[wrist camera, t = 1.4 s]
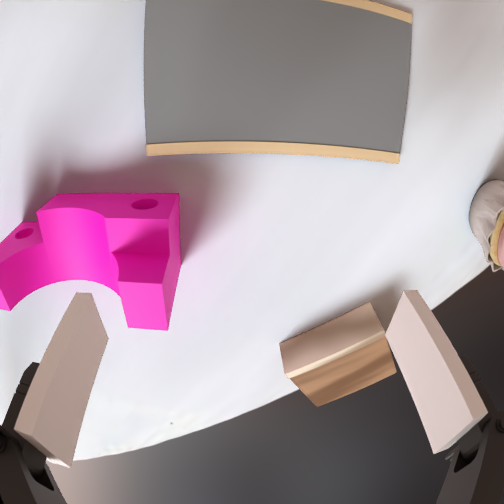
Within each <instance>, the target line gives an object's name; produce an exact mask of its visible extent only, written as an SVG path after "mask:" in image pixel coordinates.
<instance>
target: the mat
mask: <svg viewBox="0 0 504 504" xmlns="http://www.w3.org/2000/svg"><path fill="white" fill-rule="evenodd" d="M411 24H412V14H410V13H407V12H404V11H401V10H398V9H395V8H392V7H389V6H386V5H382V4H379V3H376V2H372V1H368V0H146V7H145V28H144V106H145V128H146V150H147V156H158V155H177V154H207V153H260V154H291V155H310V156H326V157H339V158H350V159H361V160H370V161H379V162H387V163H395V164H398V163H399V158H400V148H401V141H402V135H403V128H404V120H405V112H406V104H407V94H408V83H409V71H410V54H411Z"/></svg>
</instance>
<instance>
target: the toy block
mask: <svg viewBox="0 0 504 504" xmlns="http://www.w3.org/2000/svg"><path fill="white" fill-rule="evenodd" d="M36 213H37V217H38V222H22V223H21V224H20V225H19V226H17V227H16V228H15V229H14V230H13V231H12V232H11V233H10V234H9V235H8V236H7V237H6V238H5V239H4V240H3V241H2V242H1V243H0V309H3V310H8V311H11V310H12V309H13V307H14V306H15V305H16V304H17V303H18V302H19V301H21V300H22V299H23V298H24V297H26V296H27V295H28V294H30V293H32V292H33V291H35V290H37V289H39V288H41V287H44V286H46V285H49V284H52V283H56V282H60V281H66V280H88V281H93V282H97V283H100V284H103V285H105V286H107V287H109V288H111V289H112V290H114V291H115V292H116V293H117V294H118V295H119V296H120V297H121V300H122V305H123V309H124V313H125V317H126V321H127V325H128V327H129V328H140V329H153V330H167V331H168V327H169V322H170V316H171V311H172V306H173V301H174V296H175V291H176V287H177V282H178V277H179V272H180V268H181V254H180V227H179V193H77V194H56V195H55V196H54V197H53V198H52V199H51V200H49V201H48V202H47V203H46V204H45V205H44V206H42V207H41V208H40V209H39V210H38V211H37V212H36Z"/></svg>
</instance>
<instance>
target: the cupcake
mask: <svg viewBox="0 0 504 504" xmlns="http://www.w3.org/2000/svg"><path fill="white" fill-rule="evenodd" d="M469 223H470V227H471V230H472V232H473V234H474V235H475V237H476V238H477V240H478V241H479V243H480V244H481V246H482V248H483V252H484V255H485V259H486V261H487V262H489V263H490V264H491V267H492V270H493V272H495V271H497V270H499V269H501V268H502V269H503V270H504V181H502V180H492V181H488V182H487V183H485V184H484V185H483V186H482V187H481V188H480V189H479V190H478V192H477V193H476V195H475V197H474V199H473V201H472V204H471V207H470V212H469Z"/></svg>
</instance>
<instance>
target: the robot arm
mask: <svg viewBox="0 0 504 504" xmlns="http://www.w3.org/2000/svg"><path fill="white" fill-rule="evenodd" d="M385 336H386V338H387V340H388V343H389V345H390V347H391V349H392V351H393V353H394V356H395V358H396V360H397V362H398V364H399V367H400V369H401V371H402V374H403V376H404V378H405V381H406V383H407V385H408V388H409V390H410V393H411V395H412V397H413V400H414V402H415V405H416V407H417V410H418V412H419V415H420V418H421V420H422V423H423V425H424V428H425V430H426V433H427V436H428V439H429V442H430V444H431V447H432V450H433V453H434V454H435V453H437V452H440V451H443V450H445V449H447V448H449V447H450V446H452V445H453V444H454V443H455V442H457V443H458V446H457V447H456V448H455V449H454V450H452V451H451V452H450V453H449V454H447V456H446V458H445V459H448V458H450V457H451V456H452V455H453V458H452V459H451V460H450V461H451V465H450V467H449V471H448V473H447V476H446V479H445V482H444V484H443V487H442V490H441V492H440V495H439V497H438V499H437V502H436V504H504V411H498V410H497V409H496V407H495V405H494V403H493V401H492V399H491V397H490V396H489V393H488V391H487V390H486V388H485V386H484V384H483V382H482V381H481V378H480V377H479V375H478V373H476V369H475V368H474V366H473V364H472V362H471V361H470V360H469V359H468V358H467V357H466V356H465V355H464V354H463V353H461V354H457V353H456V351H455V349H454V348H453V346H452V344H451V342H450V341H449V339H448V337H447V336H446V334H445V333H444V331H443V329H442V328H441V326H440V324H439V323H438V321H437V320H436V318H435V317H434V315H433V313H432V312H431V310H430V309H429V307H428V306H427V304H426V303H425V301H424V300H423V298H422V297H421V295H420V294H419V292H418V291H417V290H410V291H403V293H402V296H401V298H400V301H399V303H398V306H397V308H396V310H395V313H394V315H393V318H392V320H391V322H390V325H389V327H388V329H387V331H386V334H385ZM108 339H109V338H108V336H107V334H106V331H105V329H104V326H103V323H102V321H101V318H100V316H99V313H98V310H97V307H96V305H95V302H94V299H93V296H92V293H77V292H76V294H75V296H74V298H73V299H72V301H71V303H70V305H69V307H68V308H67V310H66V312H65V314H64V316H63V318H62V320H61V322H60V323H59V325H58V327H57V329H56V331H55V333H54V335H53V337H52V339H51V341H50V343H49V345H48V347H47V349H46V352H45V354H44V356H43V358H42V360H41V362H40V363H35V362H32V364H31V365H30V366H29V367H28V368H27V369H26V370H25V371H24V373H23V375H22V378H21V380H20V384H18V387H17V389H16V393H15V394H14V396H13V399H12V401H11V404H10V406H9V409H8V411H7V414H6V416H5V419H4V422H3V424H2V426H1V425H0V504H67V503H66V501H65V499H64V498H63V496H62V494H61V492H60V490H59V488H58V486H57V484H56V482H55V480H54V478H53V475H52V474H51V471H50V470H49V467H48V466H47V464H46V462H45V461H46V458H49V459H50V460H51V461H53V462H54V463H57V464H60V465H63V466H66V467H70V468H71V466H72V461H73V457H74V453H75V448H76V444H77V440H78V436H79V432H80V428H81V425H82V421H83V417H84V414H85V410H86V407H87V403H88V400H89V397H90V393H91V390H92V387H93V384H94V380H95V377H96V374H97V371H98V368H99V365H100V362H101V359H102V356H103V353H104V350H105V348H106V345H107V342H108Z"/></svg>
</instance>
